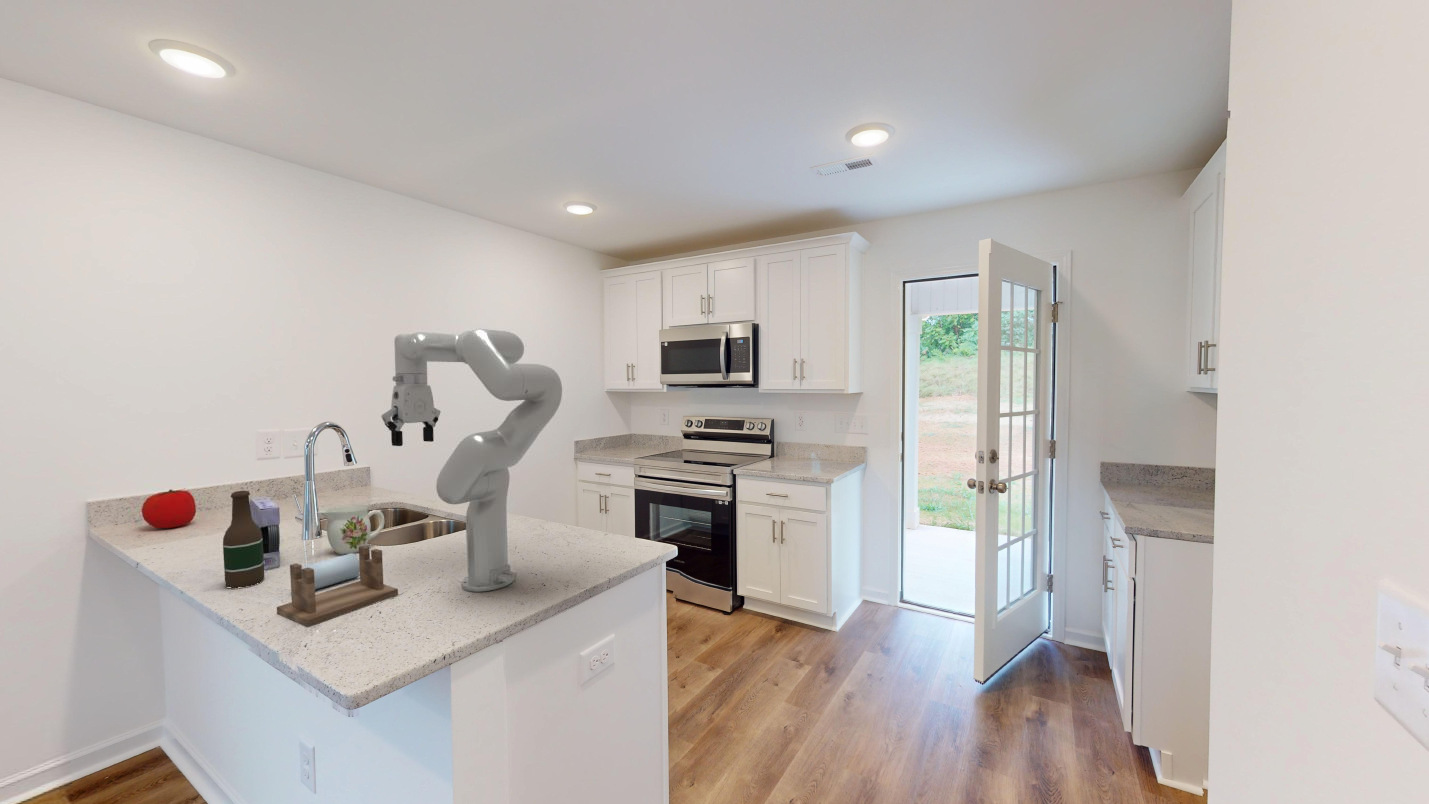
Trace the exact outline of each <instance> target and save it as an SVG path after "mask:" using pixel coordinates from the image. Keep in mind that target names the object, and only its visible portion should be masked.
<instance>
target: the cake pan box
mask: <svg viewBox="0 0 1429 804" xmlns="http://www.w3.org/2000/svg"><path fill="white" fill-rule="evenodd" d="M249 502H250V509H251V516H252V519H253V521H254V522H255V523H256V524H257V525H258V526H259V528H260V530H261V531H262V538H263V554H264V570H265V571H269V570H268V569H270V570H274V569H273V568H276V569H280V568H281V551H280V539H281V536H280V535H281V534H280V524H281V523H280V522H281V521H280V520H281V519H280V518H281V516H280V515H281V514H280V506H278V505H277V503H275V501H273V500H272V499H271V498H270V497H269V496H263V497H262V496H261V497H254V498H249ZM279 567H280V568H279Z"/></svg>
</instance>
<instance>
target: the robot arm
mask: <svg viewBox="0 0 1429 804" xmlns="http://www.w3.org/2000/svg"><path fill="white" fill-rule="evenodd" d="M524 346H525V345H524V343H523V341H522V339H521V338H520V337H519V336H518V335H516V334H515V333H513V332H511V331H506V330H498V329H497V330H495V329H487V328H486V329H485V328H475V329H471V330H467V331H464V332H462V333H460V334H447V333H437V332H414V333H411V334H410V333H401V334H397V335H396V336H395V337H394V371H395V376H392V381H393V382H395V385H393V388H392V393H391V394H392V395H391V396H392V397H391V406H390V407H391V408H390V409H389V410H387V411H386V412H384V413H383V414H381V416H380V417H381V419H382V421H383V423H384V425H385V427H386V428H388V431H389V432H390V431H391V432H390V435H391V446H393V447H402V446H403V445H404V443H403V442H404V441H403V439H404V438H403V431H402V430H401V429H402V428H403V426H404V425H405V424H417V423H422V424H423V425H424V426H423V428H422V438H423V439H422V440H423V442H429V443H430V442H434V437H435V435H434V428H435V427H436V425H437V424H436V423H437V422H438V421H439V418H440V414H441V410H440V409H438V408H436V407H435V404H434V402H435V401H434V397H433V392H432V387H431V385H430V384H428V362H431V363H433V362H435V363H436V362H437V363H438V362H439V363H440V362H442V363H464V364H465V365H468V366H469V368H470V369H471V371H473V373H474V374H475V376H476V377H477V378H478V380H480V382H481V383H482V384H483V386H484V387H485V389H486V390H487V391H488V392H489V393H490V394H491V395H492V396H493V397H494V398H496V399H498V400H500V401H505V402H512V401H514V402H515V401H522V402H521V403H519V404H518V405H517V406H516V407H515V408H513V409H512V410H511V411H510V412H509V413H508V414H507V415H506V417H505V419H504V421H502V423H501V424H500V425H499V426H498V427H497V428H496V429H493V430H488V431H480V432H475V433H472V434H469V435H468V436H465V437H464V438H463V439H462V440H461V441H460V442H459V444H458V445H457V446H456V447H455V449H454V450H453V452H452V453H451V455H450V456H449V457H448V459H447V460H446V462H445V464H444V465H443V467H442V468H441V470H440V472H439V474H438V476H437V479H436V485H435V486H436V493H437V496H438V497H439V498H440V500H441V501H443V502H444V503H446V504H449V505H460V504H464V503H466V504H467V503H468V507H467V508H466V509H467V510H466V514H465V533H466V559H467V560H466V561H467V576H466V577H464V578H463V579H462V580H461V584H460V585H461V586H460V587H461V588H462V590H465V591H467V592H475V593H476V592H477V593H478V592H488V591H489V592H491V591H494V590H499V589H501V588H504V587H505V588H506V587H507V586H509V585H511V584H512V583H513V582H514V581H515V579H516V576H517V572H514V571H511V564H509V552H508V551H509V550H508V522H507V521H508V519H507V518H508V515H507V512H508V511H507V505H508V504H507V503H508V502H507V501H508V492H509V486H510V480H511V479H510V478H511V477H510V476H511V475H510V472H509V468H511V467H513V466H515V465H517V464H518V463H519V461H521V460H522V458H523V457H524V455H525V454H526V453H527V452H528V450H529V449H530V447H531V446H532V445H533V444H534V442H535V441H536V440H537V438H538V436H539V435H540V433H541V432H542V431H543V429H544V428H545V427H546V426H547V424H549V423H550V421H551V419H553V417H554V416H555V415H556V413H557V411H558V409H559V407H560V405H561V401H562V397H563V385H562V381H561V378H560V376H559V374H558V373H557V372H556V370H555V369H553V368H551V367H550V366H548V365H545V364H540V363H539V364H537V363H518V361H520V360H521V359H522V357H523V355H524V353H525V347H524Z"/></svg>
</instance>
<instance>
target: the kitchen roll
mask: <svg viewBox="0 0 1429 804" xmlns="http://www.w3.org/2000/svg"><path fill="white" fill-rule="evenodd" d="M308 567H309V568H312V569H314V581H315V591H316V590H319V589H321V588H322V589H323V588H326V587H328V586H332V585H335V584H339V583H342V582H345V581H349V580H353V579H354V578H355V579H356V578H357V577H358V576H360V564H359V557H358V556H357V555H356V553H351V554H347V555H341V556H340V555H339V556H337V557H333V558H329V559H325V560H322V561H318V562H314V563H311V564H307V565H304V566H302V569H304V568H308Z"/></svg>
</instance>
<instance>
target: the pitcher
mask: <svg viewBox="0 0 1429 804" xmlns="http://www.w3.org/2000/svg"><path fill="white" fill-rule="evenodd" d="M316 513H317V514H318V515H322V516H323V517H325V518H326V520H327V522H328V523H327V526H326V533H327V540H328V542H329V543H328V544H329V545H330V547H331V549H332V550H333V551H334V552H335V553H336V554H337V555H339V554H340V555H341V556H343V555H344V554H351V553H353V554H356V553H359V547H360V546H367V545H368V541H370V540H371V539H373V538H376V537H377V536H378V535H379V534H380V533H381V532H382V531H383V530H384V526H385V516H384V513H383V512H382V511H381V510H378V509H373V510H370V511H369V505H367V504H350V505H349V504H348V505H342V506H336V507H330V508H327V509H323V510H319V511H317V512H316ZM373 515H377V516H378V518H379V526H378V527H377V528H376V529H375V530H374V532H372V533H371V531H372V530H371V527H372V525H371V521H370V517H372V516H373ZM340 555H339V556H340Z"/></svg>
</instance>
